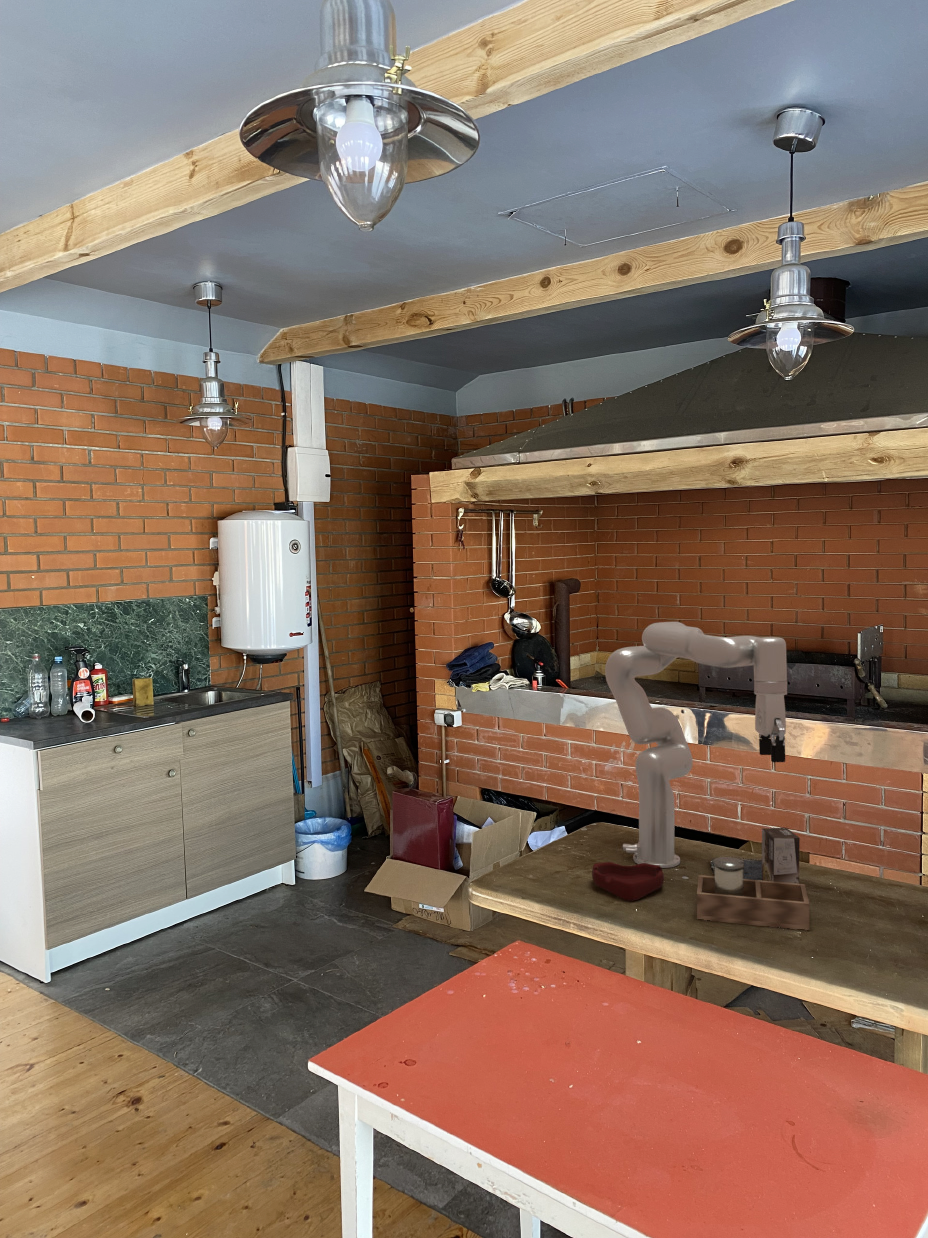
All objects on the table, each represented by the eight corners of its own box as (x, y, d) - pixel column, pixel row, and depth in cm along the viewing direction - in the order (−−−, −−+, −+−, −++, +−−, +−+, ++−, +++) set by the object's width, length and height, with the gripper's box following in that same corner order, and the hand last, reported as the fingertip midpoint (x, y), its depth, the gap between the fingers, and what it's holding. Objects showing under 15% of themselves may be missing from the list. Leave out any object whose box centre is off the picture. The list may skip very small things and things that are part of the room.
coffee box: (800, 904, 210) (800, 838, 209) (772, 904, 210) (773, 838, 209) (786, 891, 219) (787, 827, 218) (760, 891, 219) (761, 827, 218)
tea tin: (713, 912, 203) (713, 865, 203) (713, 901, 210) (714, 856, 209) (744, 915, 201) (744, 867, 201) (743, 904, 208) (744, 858, 207)
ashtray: (593, 903, 213) (593, 882, 213) (591, 880, 229) (591, 861, 229) (668, 905, 211) (668, 884, 211) (661, 882, 227) (661, 863, 227)
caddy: (696, 919, 201) (696, 893, 201) (698, 899, 214) (698, 875, 213) (809, 930, 194) (809, 904, 194) (804, 909, 207) (804, 884, 206)
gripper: (745, 685, 223) (746, 752, 223) (765, 692, 205) (766, 765, 206) (775, 684, 222) (777, 752, 222) (797, 691, 205) (799, 764, 205)
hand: (772, 758), depth 214 cm, fingers open, 9 cm apart
